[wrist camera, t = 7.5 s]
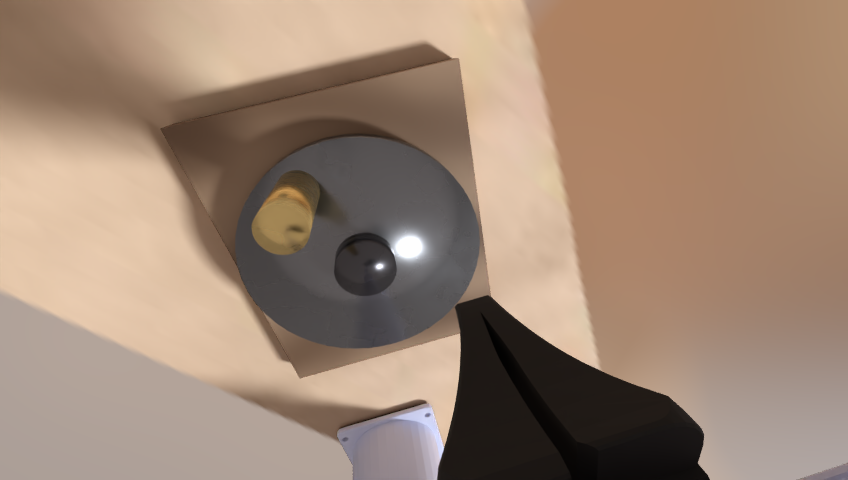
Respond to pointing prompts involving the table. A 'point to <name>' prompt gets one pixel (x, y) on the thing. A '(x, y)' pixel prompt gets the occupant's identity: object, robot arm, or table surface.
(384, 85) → the base board
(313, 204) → the handwheel
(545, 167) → the table surface
